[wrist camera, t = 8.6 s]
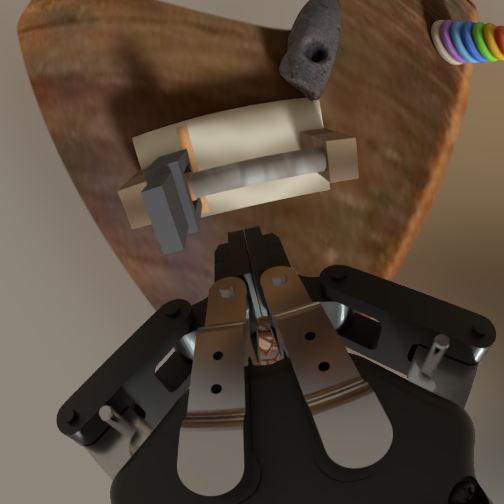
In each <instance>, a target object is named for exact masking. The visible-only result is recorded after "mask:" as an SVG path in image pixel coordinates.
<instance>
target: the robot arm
mask: <svg viewBox="0 0 504 504" xmlns="http://www.w3.org/2000/svg"><path fill="white" fill-rule="evenodd" d="M244 231H245V236H246V240H245V236H244V232H243V229H241V230H237V231H232V232H228V242H229V243H226V244H221V245H219V246H218V247H217V249H216V251H215V283H214V284H213V285H212V286H211V287H210V289H209V295H208V297H207V298H206V299H204V300H202V301H201V302H198V303H196V304H194V305H192V306H191V305H190V303H189V302H188V301H186V300H183V299H176V300H172V301H169V302H167V303H166V304H164V305H163V306H162V307H161V308H160V309H159V310H157V311H156V312H155V313H154V314H153V315H152V316H151V317H150V318H149V319H148V320H147V321H146V322H145V323H144V324H143V325H142V326H141V327H140V328H139V329H138V330H137V331H136V332H135V333H134V334H133V335H132V336H131V337H130V338H129V339H128V340H127V341H126V342H125V343H124V344H123V345H122V346H121V347H120V348H119V349H117V351H115V352H114V354H112V355H111V356H110V358H108V359H107V360H106V361H105V362H104V363H103V365H102V366H101V367H99V368H98V369H97V371H95V373H94V374H92V376H91V377H90V378H89V379H88V380H87V381H86V382H85V383H84V384H83V385H82V386H81V387H80V388H79V389H78V390H77V391H76V392H75V393H74V394H73V395H72V396H71V397H70V398H69V399H68V400H67V401H66V402H65V403H64V404H63V405H62V407H61V408H60V409H59V412H58V414H57V426H58V428H59V430H60V431H61V432H62V433H64V434H65V435H67V436H68V437H70V438H71V439H73V440H74V441H76V442H77V443H78V444H79V445H81V446H83V447H84V448H86V449H87V450H88V452H89V453H90V455H91V456H92V457H93V458H94V459H95V461H96V462H97V463H98V464H99V465H100V466H101V468H102V469H103V470H104V471H105V472H106V473H107V474H108V475H109V476H110V478H111V479H112V480H113V482H112V485H111V491H110V498H111V504H493V502H492V501H491V500H490V499H489V498H488V496H487V495H486V494H485V492H484V491H483V490H482V488H481V487H480V485H479V484H478V482H477V480H476V477H475V471H474V444H475V429H474V425H473V422H472V420H471V418H470V416H469V415H468V413H467V412H466V411H465V410H464V407H465V404H466V402H467V399H468V396H469V393H470V390H471V387H472V384H473V381H474V378H475V374H476V371H477V367H478V365H479V364H480V362H481V361H482V359H483V358H484V357H485V355H486V354H487V352H488V350H489V349H490V348H491V346H492V344H493V343H494V341H495V338H496V331H495V328H494V326H493V324H492V322H491V321H490V320H489V319H487V318H486V317H484V316H482V315H479V314H477V313H474V312H471V311H469V310H466V309H463V308H461V307H458V306H456V305H453V304H450V303H448V302H445V301H442V300H440V299H437V298H434V297H432V296H429V295H426V294H424V293H421V292H418V291H415V290H413V289H410V288H407V287H405V286H401V285H399V284H396V283H394V282H391V281H388V280H385V279H382V278H380V277H377V276H374V275H371V274H369V273H366V272H363V271H360V270H357V269H354V268H352V267H349V266H345V265H332V266H329V267H327V268H325V269H324V270H323V271H322V272H321V273H320V277H304V276H301V275H298V274H297V272H296V271H295V270H294V269H292V268H291V266H290V263H289V261H288V259H287V256H286V254H285V251H284V249H283V246H282V244H281V242H280V239H279V237H277V236H276V235H274V234H273V233H270V234H266V235H262V233H261V230H260V227H259V226H254V227H250V228H245V229H244ZM246 241H247V245H246ZM247 246H248V249H247ZM248 251H249V253H248ZM249 256H250V258H249ZM250 261H251V262H250ZM253 276H254V277H253ZM254 280H255V282H254ZM255 284H256V287H255ZM256 289H257V292H256ZM257 293H258V297H259V301H260V306H261V310H262V314H263V316H267V315H268V319H269V324H270V328H271V332H272V335H273V338H274V341H275V344H276V347H277V350H278V353H279V356H280V359H281V360H279V361H277V362H275V363H273V364H270V365H261V363H260V350H259V336H258V330H257V327H258V324H257V318H258V317H261V312H260V307H259V302H258V297H257ZM355 310H356V311H359V312H361V313H363V314H366V315H368V316H370V317H373V318H375V319H377V320H378V321H379V322H380V323H379V322H376V321H374V320H372V319H369V318H367V317H365V316H362V315H360V314H358V313H355ZM345 346H346V347H348V348H350V349H352V350H354V351H356V352H358V353H360V354H362V355H365V356H367V357H368V358H371V359H373V360H375V361H377V362H379V363H381V364H383V365H386V366H388V367H390V368H392V369H394V370H396V371H399V372H401V373H403V374H405V375H407V380H406V379H404V378H402V377H400V376H398V375H397V374H395V373H393V372H391V371H389V370H387V369H385V368H383V367H381V366H379V365H377V364H375V363H373V362H371V361H369V360H367V359H365V358H363V357H361V356H358V355H355V354H351V353H348V352H347V350H346V348H345ZM173 347H174V349H175V350H176V351H175V352H174V353H173V354H172V355H171V356H170V357H169V359H168V360H167V361H166V362H165V363H164V364H163V365H162V366H161V367H160V368H159V370H158V371H157V372H156V373H155V368H156V366H157V365H158V363H159V362H160V361H161V360H162V359H163V358H164V357H165V356H166V355H167V354H168V353H169V351H170V350H171V349H172V348H173ZM189 387H190V388H189ZM188 388H189V389H188ZM159 422H160V423H159ZM158 423H159V424H158ZM155 427H156V428H155ZM154 428H155V429H154ZM153 429H154V430H153Z"/></svg>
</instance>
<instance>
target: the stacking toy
mask: <svg viewBox="0 0 504 504" xmlns="http://www.w3.org/2000/svg"><path fill="white" fill-rule="evenodd" d="M431 36H432V40H433V43H434V46H435V48H436V49H437V51H438V53H439V54H440V55H441V56H442V57H443V59H445V60H446V61H447V62H449V63H451V64H453V65H460V64H462V63H469V62H470V63H478V62H487V61H488V60H489V61H497V60H498V59H499V60H504V26H498V27H497V26H496V25H494V24H491V23H487V24H484V23H480V22H478V23H474V22H470V21H468V22H463V21H454V20H437V21H435V22H434V23H433V25H432V28H431Z"/></svg>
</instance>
